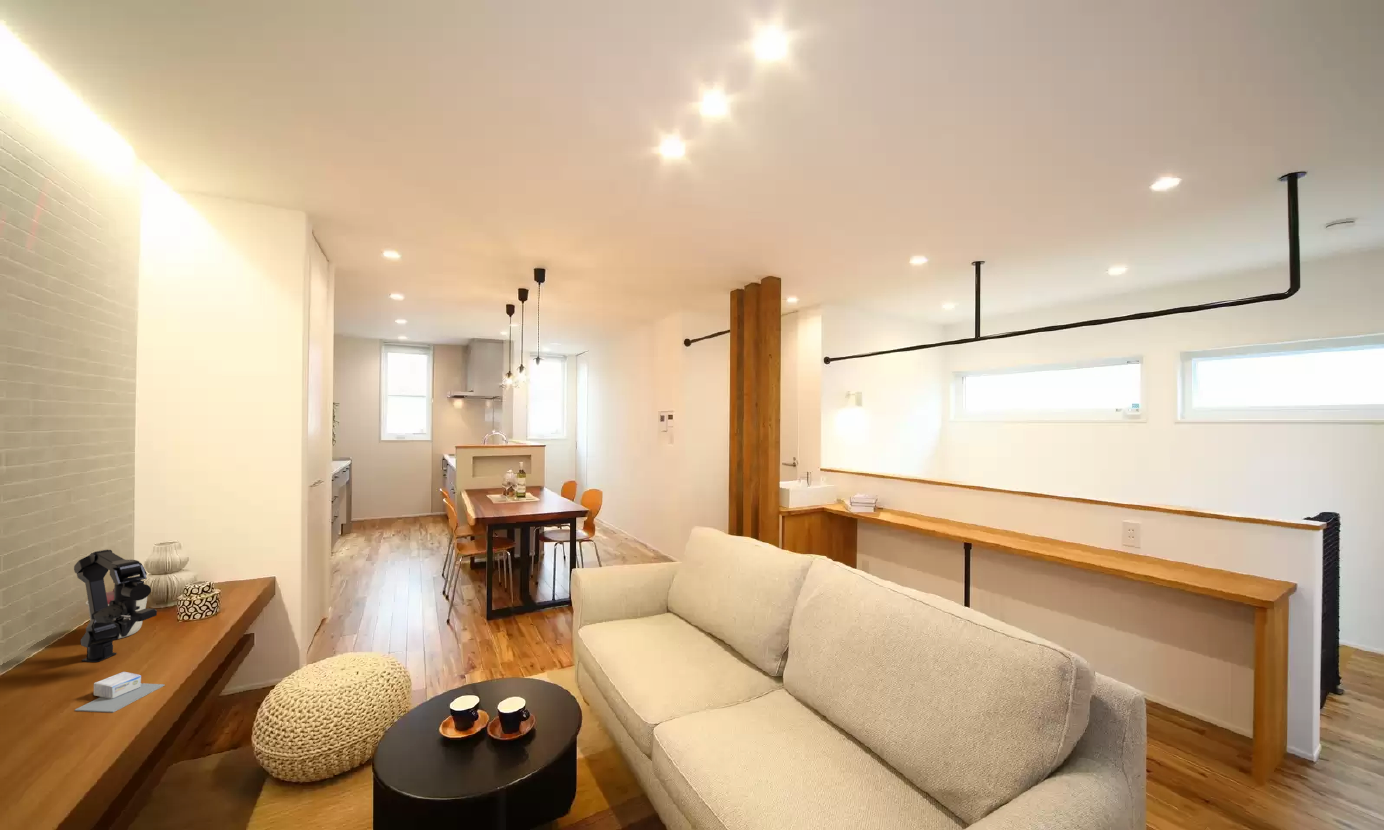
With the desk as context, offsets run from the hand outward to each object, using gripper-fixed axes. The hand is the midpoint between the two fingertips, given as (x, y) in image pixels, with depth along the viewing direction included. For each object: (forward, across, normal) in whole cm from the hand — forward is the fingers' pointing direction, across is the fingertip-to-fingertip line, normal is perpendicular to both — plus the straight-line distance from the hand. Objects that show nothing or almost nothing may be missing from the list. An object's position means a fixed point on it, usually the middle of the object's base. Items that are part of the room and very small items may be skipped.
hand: (124, 636), depth 189 cm
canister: (+12, -30, +24) cm, 40 cm away
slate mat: (+12, +20, -18) cm, 29 cm away
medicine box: (+9, +11, -14) cm, 20 cm away
